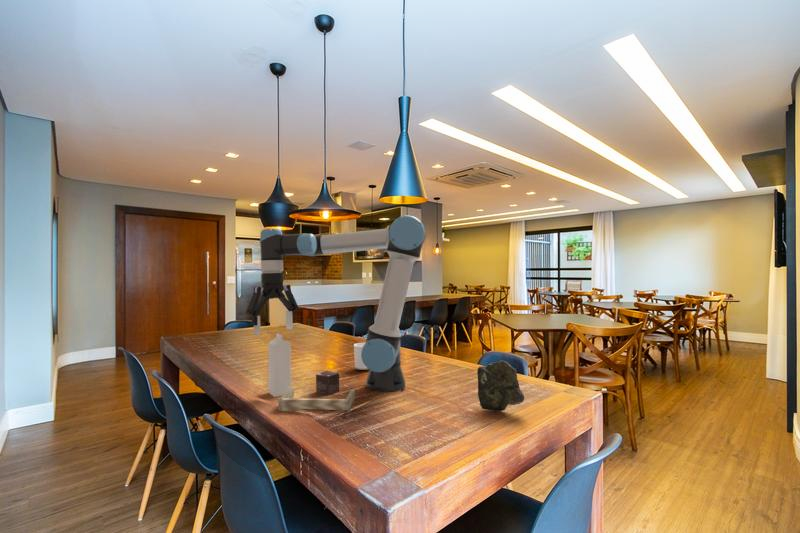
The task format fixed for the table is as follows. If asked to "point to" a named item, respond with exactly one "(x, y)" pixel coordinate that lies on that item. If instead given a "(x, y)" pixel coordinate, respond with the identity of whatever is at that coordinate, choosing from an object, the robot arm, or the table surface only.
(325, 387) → the box
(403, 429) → the table surface
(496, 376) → the stone
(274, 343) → the milk
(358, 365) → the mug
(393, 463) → the table surface
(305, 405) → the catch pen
